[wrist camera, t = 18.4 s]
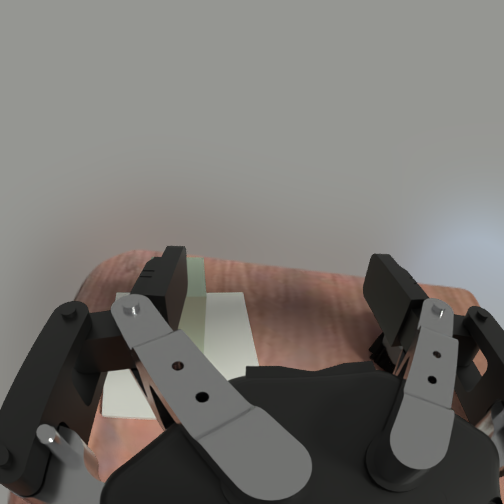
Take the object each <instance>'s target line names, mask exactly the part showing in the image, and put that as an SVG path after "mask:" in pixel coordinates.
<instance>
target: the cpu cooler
mask: <svg viewBox="0 0 504 504" xmlns="http://www.w3.org/2000/svg"><path fill="white" fill-rule="evenodd" d="M402 349H403V346H396V347H391V346H390V344H389V342H388V340H387V338H386V337H385V335H384V333H382V334H381V335H380V336H379V337H378V338H377V339H376V341H375V342H374V343H373V345H372V346H371V347H370V349H369V351H370V352H371V353H372V355H373V356H372V355H371V356H372V357H371V356H370V357H371V358H373V357H374V356H375V355H377V354H378V355H377V356H379V357H378V358H377V359H376V360H378V359H379V358H380V357H382V356H383V355H385V356H387V355H389V356H388V357H389V358H388V357H386V358H384V357H385V356H384V357H382V358H381V359H383V358H384V359H383V360H382V361H380V360H381V359H379V360H378V361H376V360H375V361H376V362H375V361H374V362H375V363H377V362H379V361H380V362H379V363H378V364H380V363H381V362H383V361H384V360H385V359H387V358H388V359H387V360H385V361H384V362H383V363H382V364H384V363H385V362H386V361H388V360H389V359H390V360H389V361H388V362H390V363H388V362H386V363H385V364H384V365H383V366H385V365H386V364H387V363H388V364H387V365H386V366H385V368H386V367H387V366H388V365H390V364H391V365H390V366H389V367H388V368H389V369H388V368H387V369H388V370H387V369H386V370H387V371H389V370H390V371H389V373H390V372H392V371H393V372H394V369H395V367H396V364H397V361H398V358H399V355H400V353H401V351H402ZM380 355H381V356H380ZM377 356H375V357H374V358H373V359H375V358H376V357H377ZM373 359H372V360H373ZM378 364H377V365H378ZM382 364H380V365H379V366H381V365H382ZM383 366H381V368H382V367H383ZM393 367H394V368H393ZM383 368H384V367H383ZM383 368H382V369H383ZM384 370H385V369H384ZM387 371H386V372H387ZM393 372H392V374H393Z"/></svg>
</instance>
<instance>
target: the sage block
mask: <svg viewBox="0 0 504 504" xmlns="http://www.w3.org/2000/svg"><path fill="white" fill-rule="evenodd" d="M153 258H154V257H152V258H151V259H153ZM186 258H187V257H186ZM187 274H188V290H187V295H186V299H185V303H184V306H183V310H182V314H181V318H180V322H179V326H178V329H181V330H183V331H184V332H185V333H186V334H187V336H188V337H189V338H190V339H191V340H192V341H193V343H194V344H195V345H196V346H197V347H198V348H199V350H200V351H201V352H202V353H203V354H204V336H205V316H206V298H207V295H206V284H205V271H204V258H187Z"/></svg>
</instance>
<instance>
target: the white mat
mask: <svg viewBox="0 0 504 504" xmlns="http://www.w3.org/2000/svg"><path fill="white" fill-rule="evenodd" d="M129 294H130V293H118V292H117V293H116V299H115V301H116V300H117V299H119V298H120V297H123V296H126V295H129ZM206 295H207V298H206V316H205V336H204V355H205V356H206V358H207V359H208V360H209V361H210V362H211V363H212V364H213V365H214V367H215V368H216V369H217V370H218V371H219V372H220V373H221V374H222V375H223V376H224V378H225V379H226V380H227V381H228V380H230V379H233V378H237V377H241V376H245V372H246V366H259V364H258V360H257V355H256V351H255V346H254V342H253V337H252V332H251V328H250V323H249V319H248V314H247V309H246V305H245V300H244V295H243V292H231V293H206ZM102 416H103V417H112V418H126V419H148V420H157V419H156V417H155V415H154V413H153V411H152V409H151V407H150V405H149V404H148V402H147V400H146V399H145V397H144V395H143V393H142V392H141V390H140V388H139V386H138V385H137V383H136V381H135V379H134V378H133V376H132V374H131V372H130V370H129V369H125V370H117V371H109V372H108V374H107V377H106V380H105V383H104V389H103V403H102Z"/></svg>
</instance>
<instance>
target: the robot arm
mask: <svg viewBox="0 0 504 504" xmlns="http://www.w3.org/2000/svg"><path fill="white" fill-rule="evenodd" d="M187 290H188V274H187V258H186V248H185V246H167V247H166V249H165V251H164V253H163V255H162V257H154V258H153V259H151V260H150V261H148V262H147V263H146V265H145V267H144V268H143V271H142V272H141V274H140V276H139V277H138V279H137V281H136V283H135V285H134V287H133V289H132V291H131V292H130V294H129V295H126V296H123V297H120V298H119V299H117V300H116V301H115V302H114V303H113V304H112V306H111V310H109V311H103V312H95V313H89V310H88V307H87V306H86V305H85V304H84V303H82V302H78V301H71V302H67V303H64V304H62V305H60V306H59V307H58V308H56V309H55V310H54V312H53V313H52V315H51V316H50V318H49V320H48V321H47V323H46V325H45V326H44V328H43V329H42V331H41V333H40V334H39V336H38V338H37V339H36V341H35V343H34V344H33V347H32V348H31V350H30V352H29V353H28V356H27V357H26V359H25V361H24V363H23V365H22V366H21V368H20V370H19V372H18V374H17V376H16V378H15V380H14V382H13V384H12V386H11V388H10V390H9V392H8V394H7V396H6V398H5V401H4V403H3V405H2V407H1V410H0V484H2V485H3V486H5V487H6V488H8V489H9V490H10V491H11V492H12V493H14V494H15V495H17V496H18V497H20V498H22V499H23V500H25V501H27V502H28V503H30V504H503V503H502V500H501V495H500V485H499V477H503V476H504V330H503V329H502V328H501V327H500V325H499V324H498V323H497V321H496V320H495V319H494V318H493V316H492V315H491V314H490V313H489V312H488V311H486V310H485V309H483V308H481V307H478V306H472V307H470V308H469V309H468V311H467V313H466V315H465V316H461V315H455V314H454V312H453V310H452V308H451V307H450V306H449V305H448V304H447V303H445V302H444V301H442V300H439V299H435V298H429V297H428V296H427V294H426V293H425V292H424V291H423V290H422V288H421V287H420V286H419V285H418V284H417V282H416V281H415V280H414V279H413V277H412V276H411V275H410V274H409V273H408V271H406V270H405V269H403V268H402V267H401V266H399V265H398V264H397V263H396V261H395V260H394V259H393V258H392V257H391V256H390V255H389V254H373V255H372V256H371V259H370V262H369V266H368V270H367V273H366V277H365V281H364V285H363V294H364V298H365V299H366V301H367V303H368V305H369V307H370V308H371V310H372V312H373V314H374V316H375V318H376V320H377V321H378V323H379V325H380V327H381V329H382V331H383V333H384V335H385V337H386V338H387V340H388V342H389V344H390V346H391V347H396V346H403V349H402V351H401V353H400V355H399V358H398V361H397V364H396V367H395V369H394V372H393V374H392V373H389V372H385V371H381V370H376V369H375V367H374V364H373V362H372V361H364V362H353V363H343V364H340V365H337V366H333V367H330V368H326V369H323V370H319V371H306V370H299V369H293V368H287V367H282V366H246V372H245V376H241V377H237V378H233V379H230V380H228V381H227V380H226V379H225V378H224V376H223V375H222V374H221V373H220V372H219V371H218V370H217V369H216V368H215V367H214V365H213V364H212V363H211V362H210V361H209V360H208V359H207V358H206V356H205V355H204V354H203V353H202V352H201V351H200V350H199V348H198V347H197V346H196V345H195V344H194V343H193V341H192V340H191V339H190V338H189V337H188V336H187V334H186V333H185V332H184V331H183V330H181V329H178V326H179V322H180V318H181V314H182V310H183V306H184V303H185V299H186V295H187ZM479 349H480V350H481V351H482V353H483V354H484V356H485V357H486V359H487V362H488V367H487V370H486V372H485V374H484V375H483V376H481V374H480V372H479V371H478V369H477V367H476V365H475V364H474V362H473V359H474V357H475V356H476V354H477V353H478V351H479ZM125 369H129V370H130V372H131V374H132V376H133V378H134V379H135V381H136V383H137V385H138V386H139V388H140V390H141V392H142V393H143V395H144V397H145V399H146V400H147V402H148V404H149V405H150V407H151V409H152V411H153V413H154V415H155V417H156V419H157V421H158V422H159V424H160V426H161V427H162V429H163V430H164V432H163V433H162V434H160V435H159V436H158V437H157V438H156V439H155V440H153V441H152V442H151V443H150V444H148V445H147V446H146V447H145V448H144V449H142V450H141V451H140V452H139V453H137V454H136V455H135V456H134V457H132V458H131V459H130V460H128V461H127V462H126V463H125V464H123V465H122V466H121V467H119V468H118V469H117V470H116V471H114V472H113V473H112V474H111V475H110V477H109V478H108V479H107V481H106V482H105V483H103V482H101V480H100V477H99V472H98V469H99V465H98V460H97V457H96V456H95V454H94V453H93V452H92V450H91V449H90V448H89V447H88V441H89V437H90V433H91V429H92V425H93V422H94V418H95V414H96V411H97V407H98V403H99V400H100V396H101V393H102V390H103V386H104V383H105V380H106V377H107V374H108V372H109V371H117V370H125ZM454 390H455V392H456V394H457V396H458V398H459V400H460V402H461V404H462V407H463V409H464V411H465V413H466V416H467V418H468V420H469V422H467V421H466V420H464V419H463V418H461V417H459V416H458V415H456V414H455V413H454V410H452V408H451V405H452V398H453V392H454Z"/></svg>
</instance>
